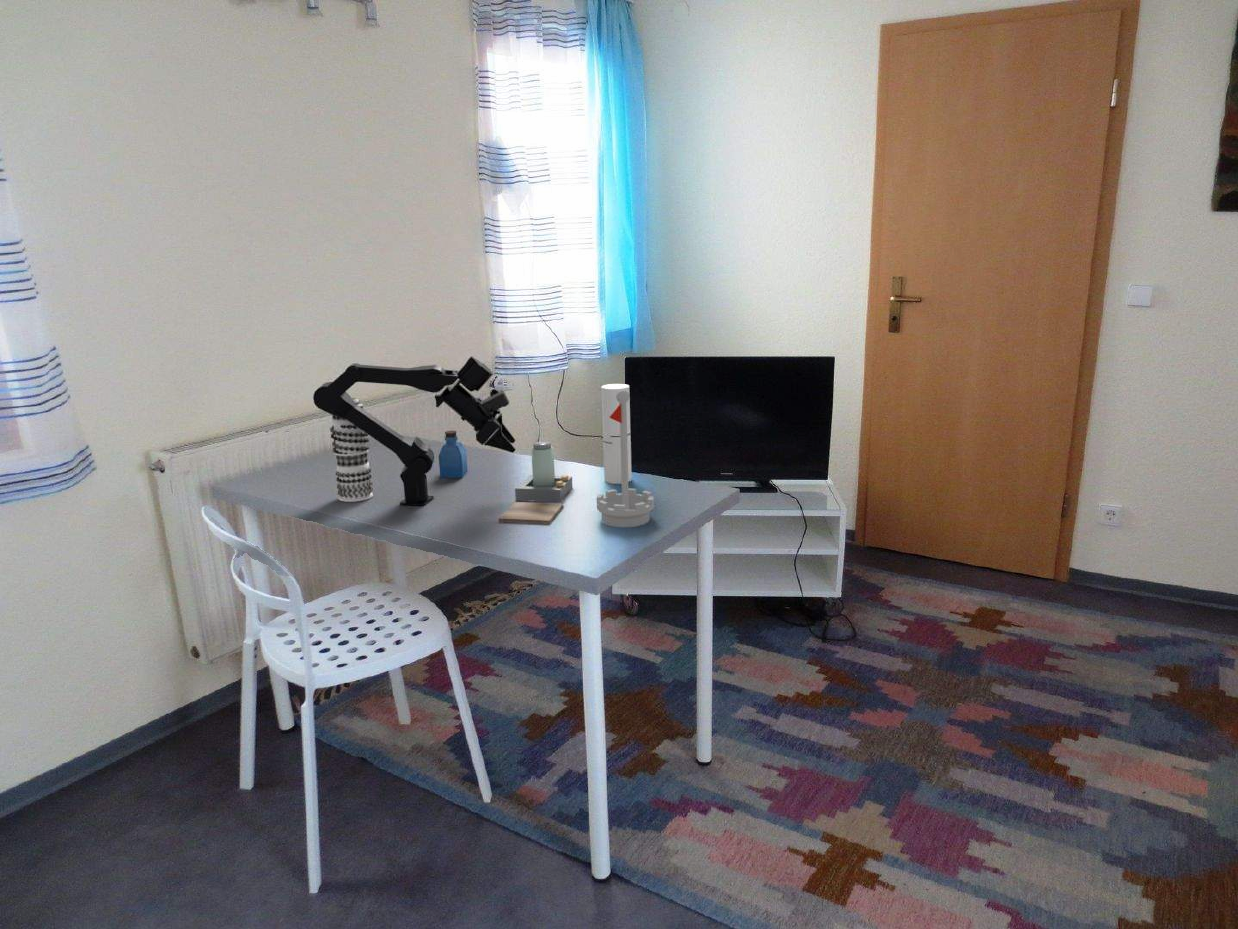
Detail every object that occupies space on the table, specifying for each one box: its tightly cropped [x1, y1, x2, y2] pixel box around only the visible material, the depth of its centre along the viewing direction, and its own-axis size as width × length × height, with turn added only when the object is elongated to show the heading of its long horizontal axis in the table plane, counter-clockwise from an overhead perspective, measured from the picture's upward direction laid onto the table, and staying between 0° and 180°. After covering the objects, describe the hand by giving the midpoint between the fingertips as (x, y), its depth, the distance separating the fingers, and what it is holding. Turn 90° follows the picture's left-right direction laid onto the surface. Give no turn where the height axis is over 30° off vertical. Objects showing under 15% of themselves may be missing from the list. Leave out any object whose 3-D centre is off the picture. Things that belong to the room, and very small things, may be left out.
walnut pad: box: [498, 501, 564, 525], centre depth 200 cm, size 12×12×1 cm
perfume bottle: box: [438, 430, 468, 479], centre depth 233 cm, size 6×6×12 cm
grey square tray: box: [514, 474, 573, 503], centre depth 215 cm, size 12×12×4 cm
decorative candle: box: [329, 397, 374, 503], centre depth 213 cm, size 9×9×25 cm
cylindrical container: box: [601, 383, 632, 485], centre depth 222 cm, size 7×7×25 cm
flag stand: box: [596, 390, 655, 528], centre depth 191 cm, size 13×13×30 cm
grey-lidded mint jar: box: [530, 441, 556, 487], centre depth 213 cm, size 6×6×13 cm
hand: (514, 446), depth 211 cm, fingers open, 9 cm apart
